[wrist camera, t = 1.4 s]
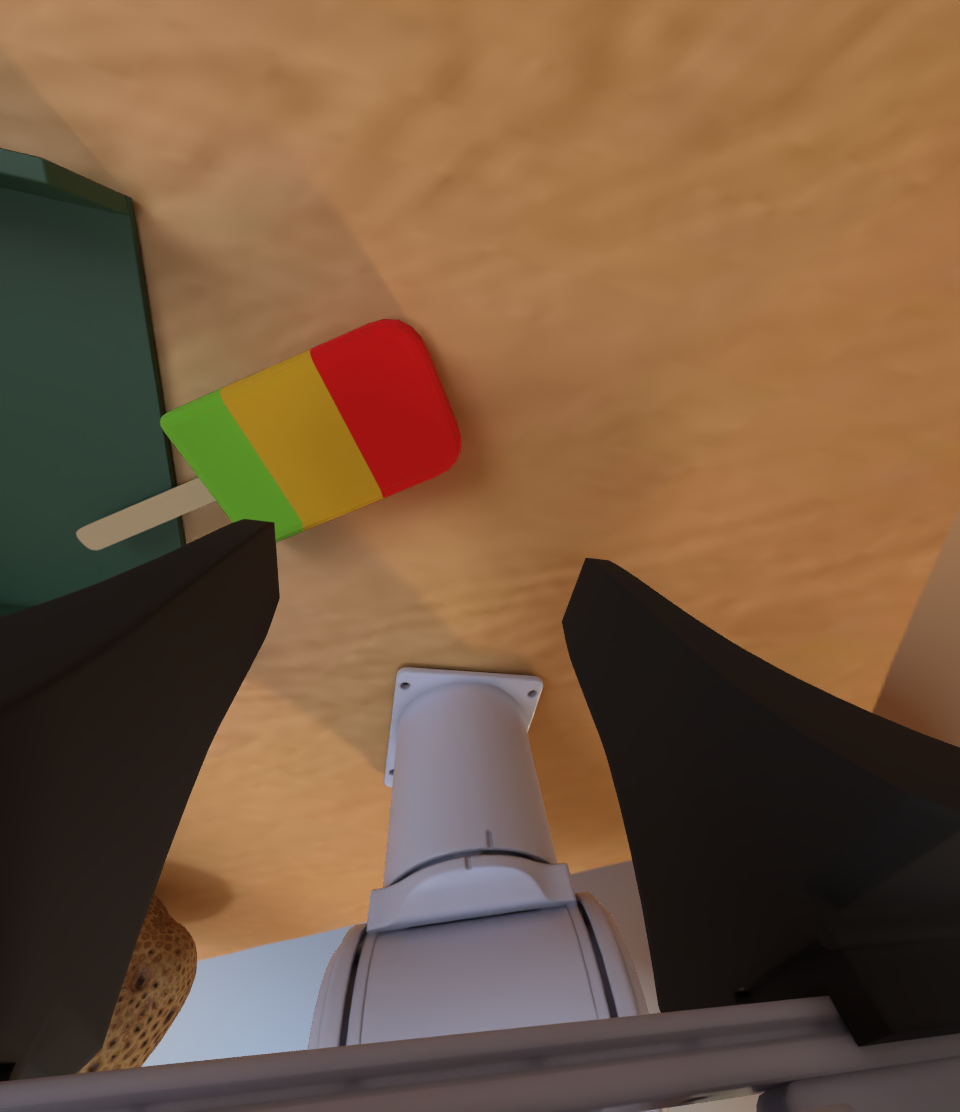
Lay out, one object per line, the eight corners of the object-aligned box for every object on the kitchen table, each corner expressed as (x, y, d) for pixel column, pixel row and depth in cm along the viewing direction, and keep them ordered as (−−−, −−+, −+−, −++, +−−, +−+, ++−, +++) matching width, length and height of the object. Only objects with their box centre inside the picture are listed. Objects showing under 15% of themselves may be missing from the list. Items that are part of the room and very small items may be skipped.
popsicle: (469, 452, 17) (474, 465, 16) (150, 583, 18) (122, 609, 17) (411, 306, 15) (410, 303, 13) (42, 469, 16) (-4, 485, 14)
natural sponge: (205, 855, 28) (102, 1091, 19) (237, 918, 32) (163, 1137, 23) (57, 867, 27) (-123, 1121, 18) (109, 931, 31) (-17, 1164, 23)
